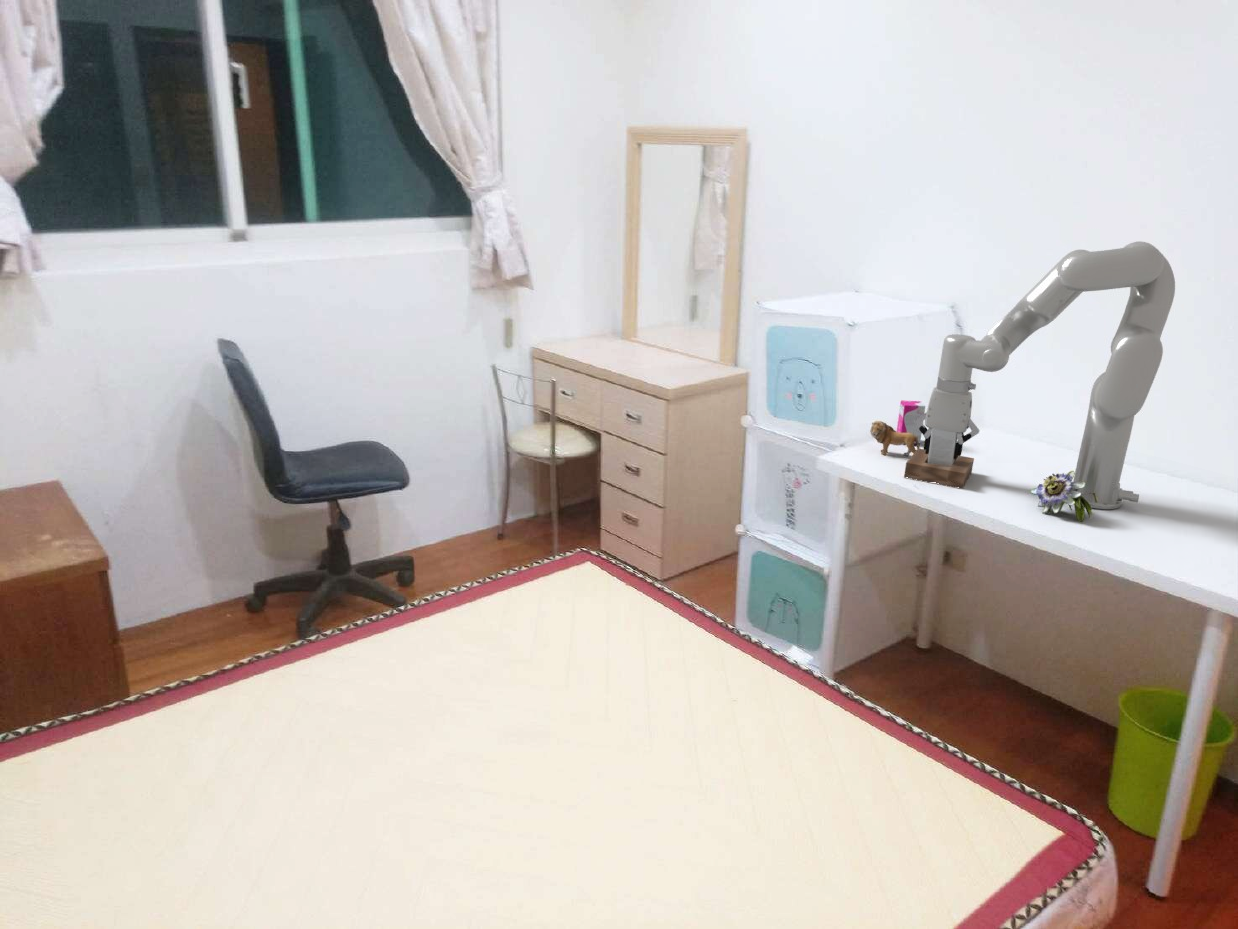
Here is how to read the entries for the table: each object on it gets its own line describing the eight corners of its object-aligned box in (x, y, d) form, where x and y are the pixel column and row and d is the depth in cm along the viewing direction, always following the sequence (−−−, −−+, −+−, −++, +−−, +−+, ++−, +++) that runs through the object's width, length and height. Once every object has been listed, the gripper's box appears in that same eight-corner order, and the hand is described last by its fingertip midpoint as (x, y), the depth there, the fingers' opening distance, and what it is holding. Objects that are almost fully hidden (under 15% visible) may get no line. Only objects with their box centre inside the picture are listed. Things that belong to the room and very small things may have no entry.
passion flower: (1041, 535, 207) (1018, 487, 209) (1072, 519, 212) (1049, 472, 213) (1080, 525, 197) (1056, 474, 198) (1112, 508, 201) (1088, 460, 203)
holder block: (971, 473, 230) (974, 458, 229) (962, 488, 219) (965, 473, 217) (915, 462, 237) (917, 448, 235) (904, 477, 225) (906, 462, 224)
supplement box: (915, 439, 257) (921, 400, 253) (920, 445, 251) (926, 406, 248) (895, 438, 257) (900, 399, 254) (899, 444, 252) (904, 404, 248)
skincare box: (953, 469, 228) (960, 423, 224) (951, 474, 224) (957, 428, 220) (928, 465, 230) (934, 420, 227) (925, 470, 227) (932, 424, 223)
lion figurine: (866, 454, 242) (871, 422, 239) (867, 449, 247) (872, 417, 244) (924, 461, 238) (929, 429, 235) (923, 455, 243) (928, 423, 240)
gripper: (992, 388, 219) (980, 457, 225) (920, 377, 227) (909, 445, 233) (988, 394, 213) (975, 465, 219) (913, 383, 221) (903, 452, 227)
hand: (941, 454), depth 226 cm, fingers closed on skincare box, 6 cm apart
